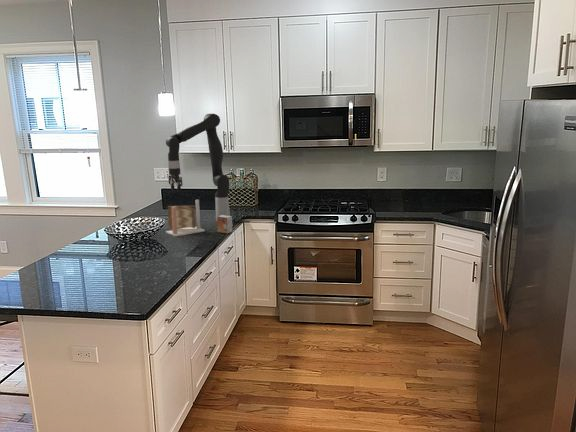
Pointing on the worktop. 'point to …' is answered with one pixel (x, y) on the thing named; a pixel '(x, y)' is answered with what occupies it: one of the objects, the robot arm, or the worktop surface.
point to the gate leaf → (182, 216)
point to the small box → (224, 224)
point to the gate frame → (185, 231)
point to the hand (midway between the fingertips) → (176, 191)
